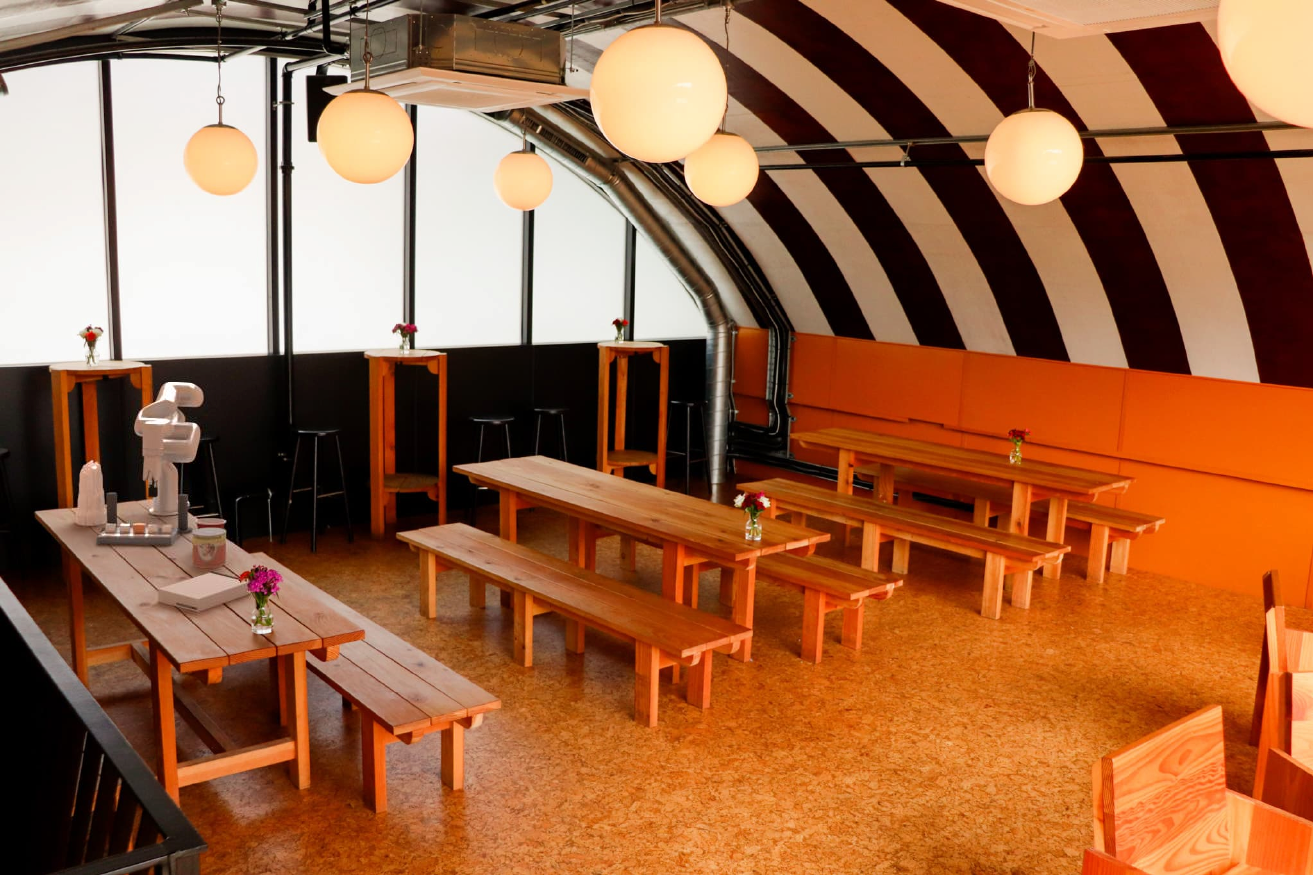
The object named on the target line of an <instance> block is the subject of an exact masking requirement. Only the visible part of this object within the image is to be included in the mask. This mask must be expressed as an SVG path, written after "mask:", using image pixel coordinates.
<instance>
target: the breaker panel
mask: <svg viewBox="0 0 1313 875" xmlns="http://www.w3.org/2000/svg"><path fill="white" fill-rule="evenodd" d="M119 526H120V527H116V524H107V523H105V527H106V529H105V530H104V531H103V532H102V531H101V533H99V534H98V535H97V536H96V545H98V546H99V545H102V546H103V545H105V546H110V545H111V546H112V545H113V546H117V545H119V546H172V545H173V544H174V543H175V542H176V541H177V539H178V538H179V537H180V536H181V534H180V528H178V527H174V528H173V524H163V525H162V526H161V527H159V524H148V526H147V527H146V531H145V532H133V527H131V523H120V525H119ZM175 540H176V541H175Z"/></svg>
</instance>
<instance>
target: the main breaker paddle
mask: <svg viewBox="0 0 1313 875" xmlns="http://www.w3.org/2000/svg"><path fill="white" fill-rule="evenodd" d="M132 528H133V532H145V531H146V528H147V527H146V523H140V522H139V523H133V524H132Z"/></svg>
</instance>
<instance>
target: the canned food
mask: <svg viewBox="0 0 1313 875" xmlns="http://www.w3.org/2000/svg"><path fill="white" fill-rule="evenodd" d="M226 552H227V529H225V528H223V529H222V528H200V529H198V528H196V529H194V530H192V566H194V567H198V568H200V569H201V568H202V569H209V568H210V569H211V568H219V567H222V566H225V565H226V564H227V560H226V559H227V558H226V557H227V553H226Z"/></svg>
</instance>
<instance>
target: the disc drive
mask: <svg viewBox="0 0 1313 875" xmlns="http://www.w3.org/2000/svg"><path fill="white" fill-rule="evenodd" d="M239 578H240V577H236V576H232V575H228V574H224V573H220V572H219V573H218V572H215V571H209V572H207V573H204V574H202V575H199V576H195V577H192V578H189V579H186V580H183V581H179V582H176V583H172V584H169V585H166V586H163V587H159V588H158V589H157V596H158V597H157V600H158V603H162V604H165V605H170V606H174V607H177V608H182V609H185V610H190V611H193V612H197V613H199V612H202V611H204V610H207V609H210V608H213V607H216V606H220V605H222V604H224V603H227V602H230V601H233V600H236V599H239V598H241V597H244V596H247V595H250V594H249V593H248V592H247V580H248V579H244V580H245V581H243V582H242V583H240V581H239Z"/></svg>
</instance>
